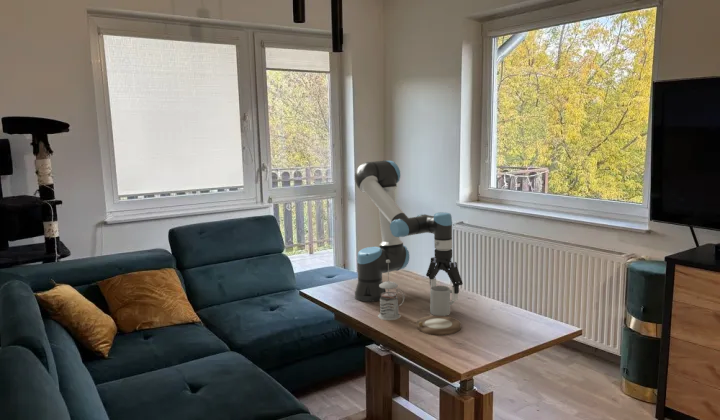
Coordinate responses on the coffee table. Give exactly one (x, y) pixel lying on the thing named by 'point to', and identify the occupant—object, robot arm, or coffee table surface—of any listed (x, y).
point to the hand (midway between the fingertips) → (444, 296)
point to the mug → (440, 300)
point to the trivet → (438, 325)
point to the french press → (390, 312)
